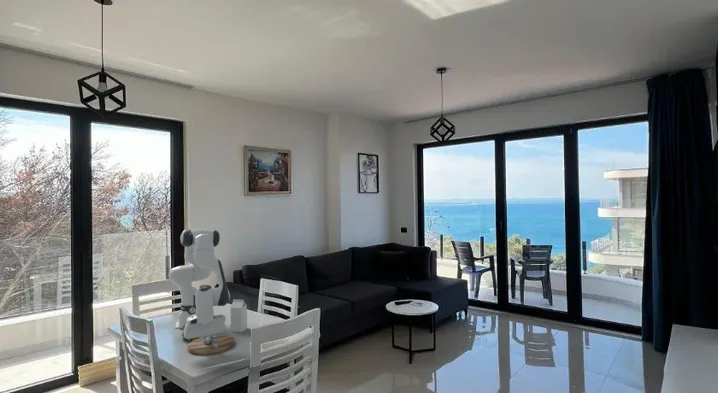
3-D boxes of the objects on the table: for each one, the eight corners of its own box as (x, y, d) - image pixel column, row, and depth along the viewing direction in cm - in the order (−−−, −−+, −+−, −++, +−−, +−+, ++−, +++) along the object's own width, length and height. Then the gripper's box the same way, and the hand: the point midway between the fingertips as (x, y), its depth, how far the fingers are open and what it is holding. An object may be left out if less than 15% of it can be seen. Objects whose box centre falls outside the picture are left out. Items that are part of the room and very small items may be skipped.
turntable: (184, 344, 224) (184, 329, 224) (228, 335, 236) (228, 322, 236) (191, 358, 204) (191, 342, 203) (239, 348, 216) (239, 333, 216)
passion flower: (184, 349, 233) (181, 329, 238) (204, 342, 237) (200, 323, 243) (182, 343, 224) (178, 323, 229) (202, 337, 228) (198, 317, 234)
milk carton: (241, 332, 242) (241, 301, 242) (230, 332, 244) (230, 300, 244) (247, 328, 249) (246, 298, 249) (236, 328, 251) (236, 297, 251)
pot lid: (202, 342, 221) (202, 336, 221) (216, 339, 224) (215, 334, 224) (205, 346, 215) (205, 340, 215) (218, 343, 219) (218, 337, 218)
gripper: (224, 312, 218) (224, 337, 218) (183, 319, 207) (183, 346, 207) (226, 315, 212) (227, 341, 213) (184, 322, 202) (185, 349, 202)
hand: (205, 343), depth 210 cm, fingers closed
